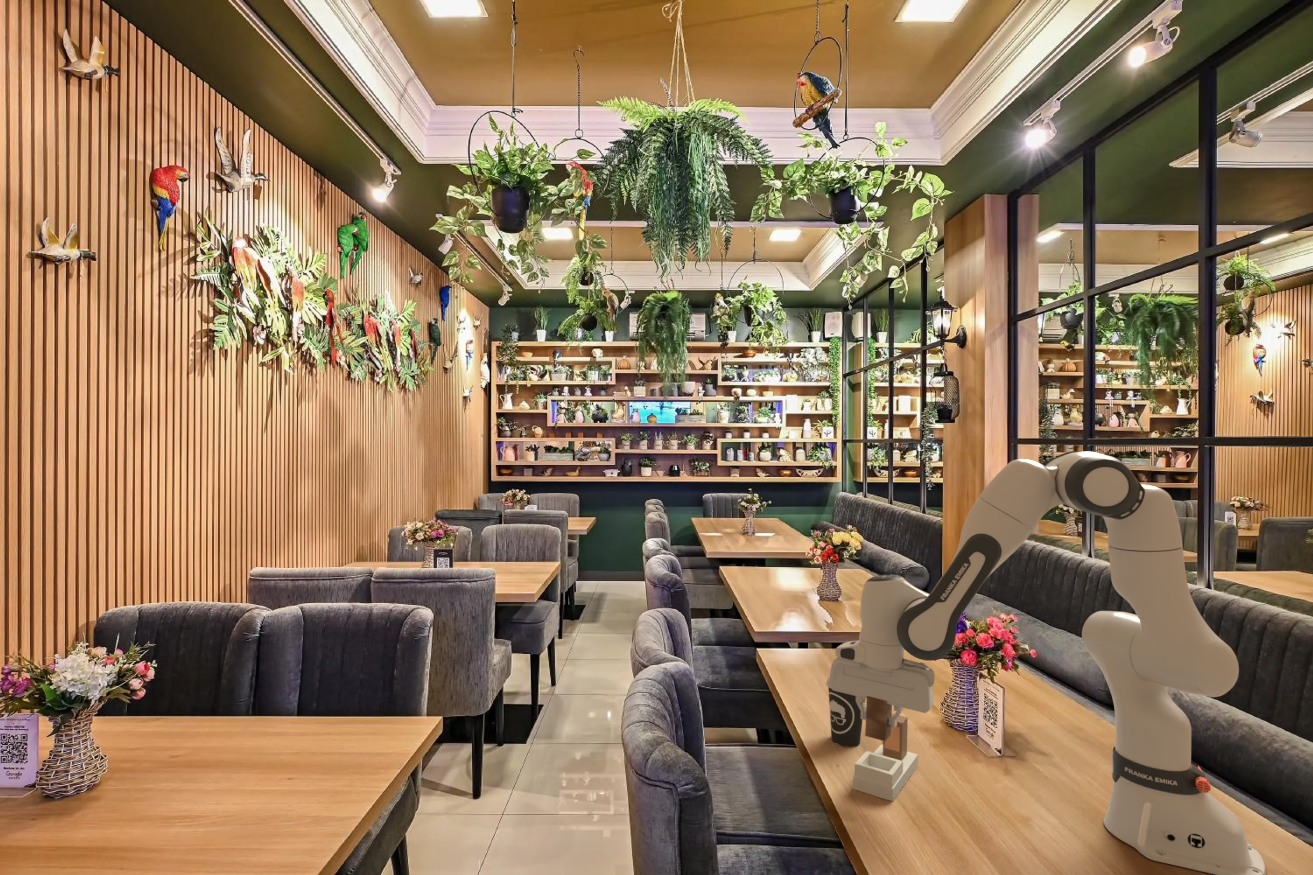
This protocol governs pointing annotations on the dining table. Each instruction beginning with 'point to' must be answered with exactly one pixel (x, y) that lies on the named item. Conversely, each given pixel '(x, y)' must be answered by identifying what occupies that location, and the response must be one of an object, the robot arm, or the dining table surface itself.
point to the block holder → (886, 765)
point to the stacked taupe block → (877, 719)
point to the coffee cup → (844, 718)
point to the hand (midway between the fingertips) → (878, 722)
